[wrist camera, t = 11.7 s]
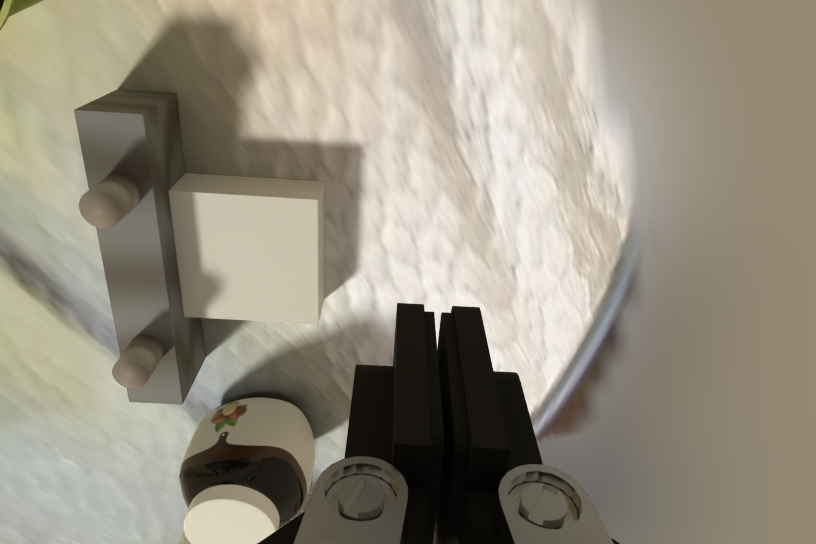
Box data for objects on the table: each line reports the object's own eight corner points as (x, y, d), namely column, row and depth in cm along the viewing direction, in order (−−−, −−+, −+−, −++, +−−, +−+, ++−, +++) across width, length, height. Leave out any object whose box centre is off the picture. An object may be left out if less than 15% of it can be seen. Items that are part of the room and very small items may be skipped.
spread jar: (306, 382, 53) (282, 486, 42) (335, 475, 58) (320, 588, 48) (175, 400, 54) (119, 506, 43) (215, 490, 59) (174, 604, 49)
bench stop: (116, 89, 41) (47, 122, 33) (176, 93, 41) (121, 127, 33) (157, 355, 51) (112, 429, 43) (205, 357, 51) (168, 431, 43)
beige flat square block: (187, 171, 44) (168, 190, 41) (324, 180, 45) (317, 199, 41) (200, 290, 49) (184, 316, 45) (324, 297, 49) (318, 324, 46)
